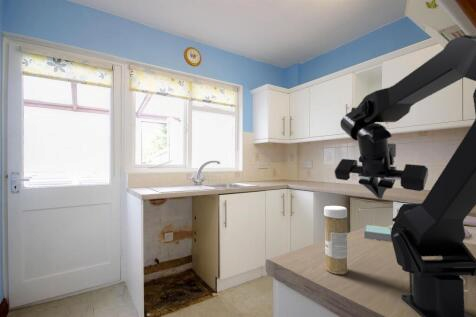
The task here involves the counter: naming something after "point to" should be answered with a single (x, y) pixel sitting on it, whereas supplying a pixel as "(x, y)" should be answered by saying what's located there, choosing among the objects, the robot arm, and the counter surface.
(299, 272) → the counter surface
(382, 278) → the counter surface
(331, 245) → the sprinkles bottle
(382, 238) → the tile
